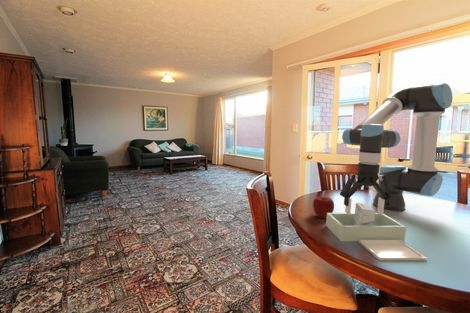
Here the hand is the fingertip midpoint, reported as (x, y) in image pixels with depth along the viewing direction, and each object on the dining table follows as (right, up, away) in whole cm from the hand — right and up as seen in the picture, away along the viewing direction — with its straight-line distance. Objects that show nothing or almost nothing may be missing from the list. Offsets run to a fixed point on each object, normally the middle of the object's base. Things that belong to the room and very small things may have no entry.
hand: (363, 213), depth 94 cm
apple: (-10, -6, +18) cm, 22 cm away
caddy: (0, -9, +1) cm, 9 cm away
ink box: (0, -9, +1) cm, 9 cm away
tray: (+2, -10, -13) cm, 16 cm away
